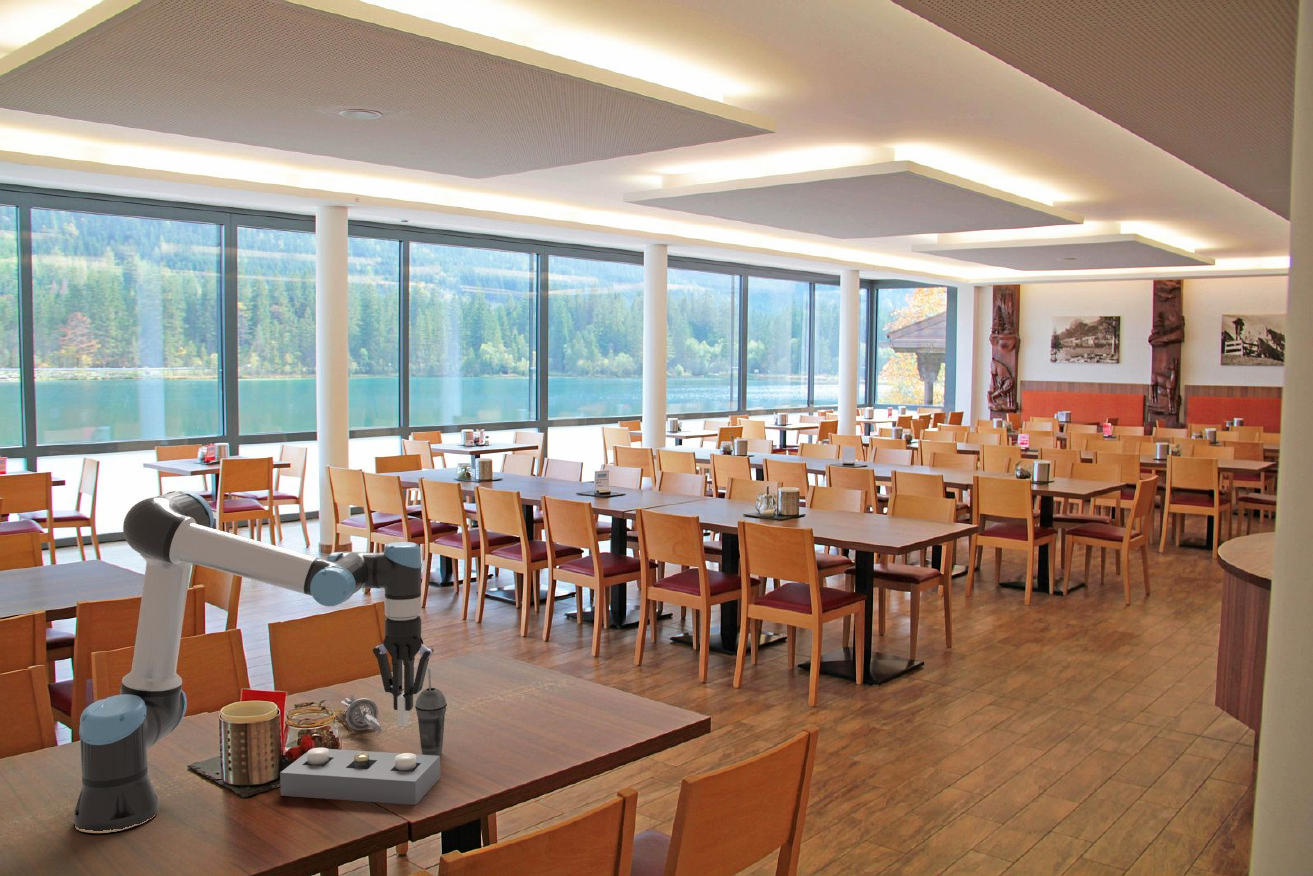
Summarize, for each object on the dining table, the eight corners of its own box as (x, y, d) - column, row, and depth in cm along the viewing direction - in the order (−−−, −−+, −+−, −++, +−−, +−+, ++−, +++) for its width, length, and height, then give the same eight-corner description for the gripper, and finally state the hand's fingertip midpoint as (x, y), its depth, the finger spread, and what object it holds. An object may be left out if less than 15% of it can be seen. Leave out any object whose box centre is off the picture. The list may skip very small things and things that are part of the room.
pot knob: (365, 772, 218) (365, 759, 218) (351, 772, 219) (351, 758, 218) (372, 767, 221) (371, 753, 221) (358, 766, 222) (357, 752, 221)
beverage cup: (420, 762, 234) (418, 676, 232) (412, 751, 240) (410, 668, 239) (451, 756, 237) (450, 672, 236) (442, 746, 244) (441, 663, 242)
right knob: (411, 784, 216) (411, 761, 216) (392, 783, 217) (391, 760, 216) (419, 776, 220) (419, 753, 220) (400, 775, 221) (399, 752, 221)
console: (415, 805, 211) (415, 781, 211) (280, 795, 216) (280, 772, 215) (440, 778, 225) (439, 755, 224) (312, 769, 229) (312, 748, 229)
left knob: (323, 778, 219) (322, 756, 219) (304, 777, 220) (303, 754, 219) (332, 770, 223) (332, 748, 223) (313, 769, 224) (313, 747, 224)
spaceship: (357, 723, 236) (388, 705, 240) (326, 696, 267) (353, 680, 270) (372, 753, 238) (402, 734, 241) (339, 722, 268) (366, 706, 272)
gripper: (438, 613, 219) (438, 720, 220) (381, 610, 221) (381, 716, 222) (425, 621, 211) (425, 733, 213) (366, 618, 213) (366, 728, 215)
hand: (403, 724), depth 218 cm, fingers closed
